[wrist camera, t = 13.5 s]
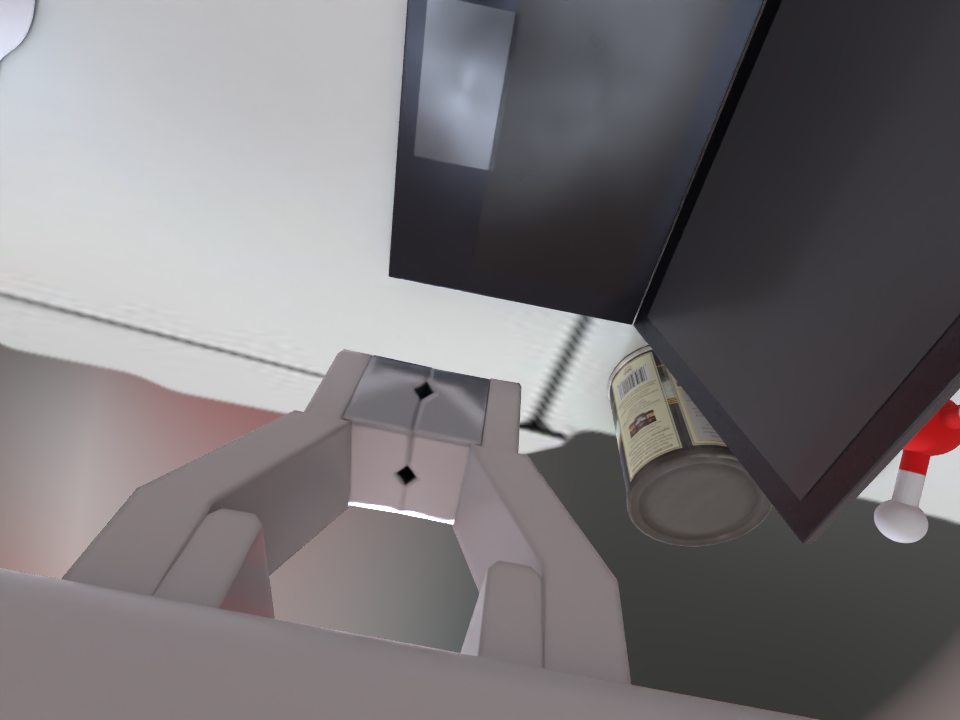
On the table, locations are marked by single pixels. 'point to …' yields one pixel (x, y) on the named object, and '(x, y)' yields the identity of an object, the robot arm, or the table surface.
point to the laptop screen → (822, 250)
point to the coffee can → (677, 461)
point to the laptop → (554, 142)
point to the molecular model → (917, 476)
